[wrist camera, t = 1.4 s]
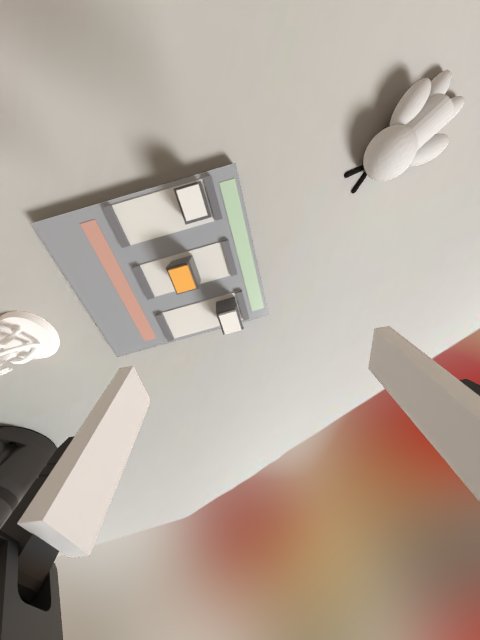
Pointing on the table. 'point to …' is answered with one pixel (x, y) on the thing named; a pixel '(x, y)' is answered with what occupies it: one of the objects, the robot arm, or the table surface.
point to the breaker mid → (184, 274)
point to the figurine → (25, 338)
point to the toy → (411, 131)
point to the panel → (158, 261)
